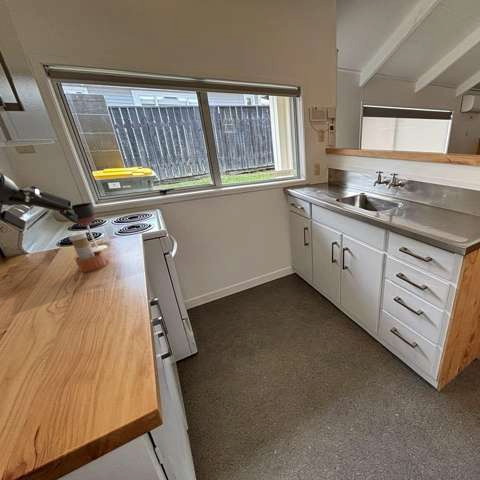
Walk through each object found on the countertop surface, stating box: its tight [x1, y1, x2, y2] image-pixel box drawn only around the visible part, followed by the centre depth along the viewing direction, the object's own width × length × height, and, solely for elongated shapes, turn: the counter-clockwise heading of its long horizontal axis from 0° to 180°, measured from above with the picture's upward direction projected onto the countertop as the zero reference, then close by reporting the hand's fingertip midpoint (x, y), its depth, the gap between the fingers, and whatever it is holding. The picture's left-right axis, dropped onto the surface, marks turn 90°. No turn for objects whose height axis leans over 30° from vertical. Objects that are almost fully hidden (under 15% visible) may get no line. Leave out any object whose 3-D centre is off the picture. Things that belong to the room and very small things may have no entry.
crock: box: [74, 250, 107, 273], centre depth 97 cm, size 8×8×5 cm
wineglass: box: [72, 202, 108, 252], centre depth 112 cm, size 8×9×20 cm
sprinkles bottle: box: [68, 231, 95, 260], centre depth 95 cm, size 5×5×13 cm
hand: (50, 222), depth 81 cm, fingers open, 13 cm apart
